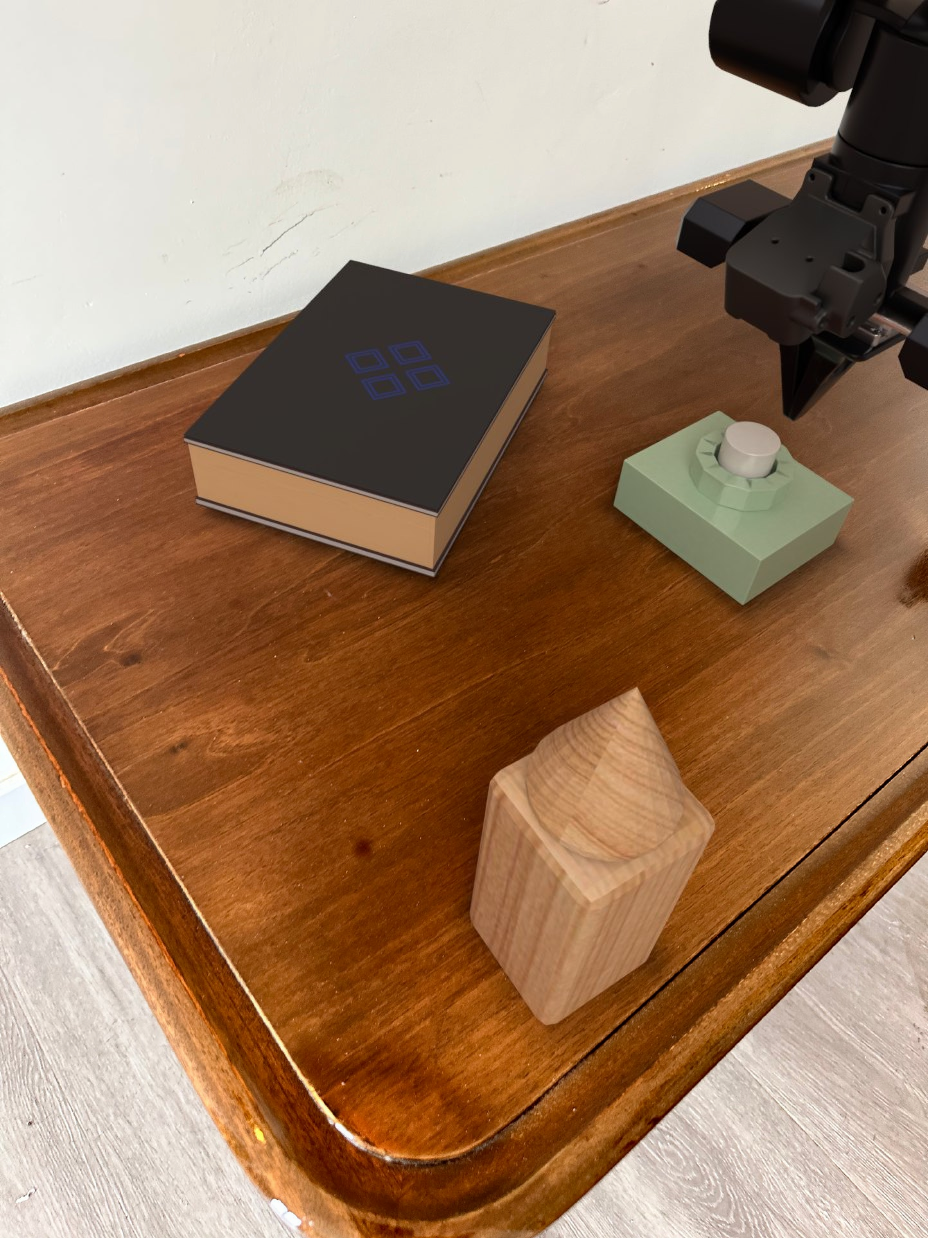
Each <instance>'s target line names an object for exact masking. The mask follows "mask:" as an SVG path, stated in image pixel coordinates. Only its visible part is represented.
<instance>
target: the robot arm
mask: <svg viewBox="0 0 928 1238" xmlns="http://www.w3.org/2000/svg"><path fill="white" fill-rule="evenodd" d="M707 33H708V35H707V36H708V38H707V39H708V51H709V55H710V58H711V61H712V62H713V64H714V65H715V66H716V67H717V68H718V69H720V70H721V71H723V72H726V73H728V74H731V75H732V76H734V77H736V78H737V77H738V78H739V79H742V80H745V81H747V82H748V83H751V84H753V85H756V86H759V87H761V88H763V89H766V90H768V91H770V92H773V93H775V94H777V95H780V96H782V97H785V98H787V99H789V100H792V101H794V102H796V103H799V104H800V105H803V106H805V107H808V108H818V107H821V106H824V105H825V104H827V103H829V102H830V101H831V100H833V99H834V98H835V97H836V96H837V95H838V94H840V93H846V92H849V91H850V90H851V91H850V94H849V97H848V99H847V103H846V106H845V108H844V111H843V114H842V117H841V120H840V122H839V127H838V129H837V131H836V135H835V137H834V140H833V144H832V146H831V149H830V151H829V152H826V153H824V154H821V155H818V156H816V157H814V158H813V160H812V163H811V166H810V168H809V169H808V170H807V171H806V172H805V175H804V178H803V181H802V184H801V187H800V188H799V190H798V191H797V193H796V194H795V195H794V197H793V199H792V198H789V197H788V196H786V195H783V194H781V193H779V192H777V191H775V190H773V189H772V188H769V187H767V186H765V185H763V184H761V183H759V182H757V181H755V180H753V179H750V178H748V179H746V180H743V181H741V182H738V183H737V182H736V183H734V184H732V185H729V186H725V187H724V188H720V189H718V190H715V191H712V192H709V193H707V194H704V195H702V196H699V197H697V198H696V199H694V200H693V201H691V202H690V203H689V205H688V207H687V208H686V209H685V211H684V212H683V213H682V215H681V218H680V222H679V227H678V231H677V235H676V238H675V239H676V240H675V249H676V250H677V251H678V252H680V253H681V254H683V255H685V256H687V257H689V258H691V260H692V259H693V260H695V261H696V262H697V263H699V264H701V265H702V266H704V267H706V268H708V269H713V268H716V267H718V266H720V265H723V264H725V271H724V298H723V300H724V301H723V307H724V311H725V312H726V313H727V315H729V316H730V317H732V318H733V319H735V320H742V321H743V322H745V323H747V324H749V325H751V326H752V327H754V328H756V329H757V330H759V331H761V332H763V333H764V334H766V336H767V337H768V339H769V340H771V341H772V342H774V343H777V344H778V349H779V357H780V379H781V380H780V381H781V402H782V403H781V404H782V415H783V417H785V418H787V419H788V420H790V421H791V422H796V421H797V420H800V419H801V418H803V417H804V416H805V415H806V414H807V413H808V412H810V410H812V408H813V407H814V406H815V405H816V404H817V403H818V402H819V401H820V400H821V399H822V398H823V397H824V396H825V395H826V394H827V393H828V392H829V391H830V390H831V389H832V388H833V387H834V386H835V385H836V384H837V383H838V382H839V381H840V380H841V379H842V377H844V375H846V373H848V371H850V370H851V369H852V368H853V367H854V366H855V365H856V364H857V363H863V362H867V361H868V360H870V359H872V358H874V357H877V356H878V355H879V354H881V353H883V352H885V351H886V350H888V349H891V348H892V347H895V346H896V345H898V344H900V343H901V342H903V341H904V342H903V344H902V346H901V348H900V350H899V353H898V355H897V359H898V362H899V365H900V368H901V370H902V374H903V377H904V378H905V379H906V380H908V381H909V382H912V383H913V384H915V385H916V386H918V387H920V388H922V389H924V390H926V391H928V291H927V290H925V289H923V288H921V287H919V286H918V285H915V284H913V283H911V282H909V279H910V276H912V275H915V274H918V272H920V271H923V270H924V269H925V266H926V264H927V261H928V248H926V247H924V245H925V243H926V240H927V238H928V0H715V2H714V4H713V7H712V11H711V15H710V19H709V26H708V32H707Z"/></svg>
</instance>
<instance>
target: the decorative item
mask: <svg viewBox="0 0 928 1238" xmlns="http://www.w3.org/2000/svg"><path fill="white" fill-rule="evenodd" d="M659 729H660V728H658V725H657V723H656V721H655V720H654V717H653V715H652V714H651V711H650V709H649V707H648V705H647V704H646V701H645V699H644V697H643V696H642V693H641V692H640V690H639V687H638V686H636V687H634V688H632V689H629V690H628V691H626V692H624V693H622V694H620V695H617V696H616V697H614V698H612V699H610V700H608V701H607V702H604V703H603V704H601V705H599V706H597V707H595V708H593V709H591V710H589V711H587V712H584V713H583V714H581V715H579V716H578V717H575V718H574V719H571V720H569V721H568V722H566V723H563V724H562V725H560V726H557V727H556V728H555V729H553V730H552V731H551V732H550V733H548V734H547V735H546V736H545V737H543V738H542V739H541V740H540V741H539V742H538V744H537V745H536V747H535V749H534V750H533V752H531V753H529V754H527V755H525V756H523V757H522V758H519V759H518V760H516V761H514V762H512V763H510V764H509V765H507V766H505V767H503V768H502V769H500V770H498V771H497V772H496V773H495V774H494V776H493V777H492V778H491V780H490V781H489V786H488V791H487V792H488V793H487V798H486V804H485V812H484V819H483V825H482V831H481V837H480V844H479V851H478V855H477V856H478V857H477V862H476V863H477V864H476V870H475V876H474V883H473V890H472V897H471V903H470V909H469V917H470V922H471V924H472V926H473V927H474V929H475V930H476V932H477V933H478V935H479V936H480V937H481V939H482V940H483V942H484V944H485V945H486V947H487V948H488V949H489V951H490V952H491V954H492V956H493V957H494V958H495V959H496V961H497V962H498V964H499V966H500V967H501V968H502V970H503V971H504V973H505V974H506V976H507V978H509V980H510V982H511V983H512V984H513V986H514V987H515V989H516V990H517V992H518V993H519V995H520V997H521V998H522V1000H523V1001H524V1002H525V1004H526V1005H527V1007H528V1008H529V1010H530V1011H531V1012H532V1014H533V1016H535V1018H536V1019H537V1020H538V1021H540V1022H541V1023H542V1024H543V1025H544V1026H549V1025H550V1026H551V1025H556V1024H559V1023H560V1022H561V1021H562V1020H564V1019H566V1017H567V1018H568V1017H569V1015H571V1014H572V1013H574V1012H576V1011H577V1010H578V1009H580V1008H581V1007H582V1006H584V1005H585V1004H587V1003H588V1002H590V1001H591V1000H593V999H594V998H595V997H597V996H598V995H599V994H601V993H603V992H604V991H605V990H607V989H608V988H610V987H611V986H612V985H615V984H616V983H617V982H618V981H620V980H622V979H623V978H624V977H626V976H627V975H629V974H630V973H632V972H633V971H634V970H636V969H637V968H639V967H640V966H641V965H643V964H645V963H646V962H647V960H648V959H649V956H650V954H651V953H652V951H653V949H654V948H655V945H656V943H657V941H658V939H659V937H660V935H661V933H662V932H663V929H664V928H665V926H666V924H667V922H668V919H669V918H670V916H671V915H672V912H673V910H674V909H675V907H676V905H677V903H678V901H679V899H680V897H681V895H682V893H683V891H684V890H685V888H686V885H687V883H688V882H689V881H690V880H689V879H690V878H691V876H692V874H693V872H694V870H695V868H696V867H697V864H698V863H699V860H700V858H701V857H702V855H703V853H704V851H705V849H706V847H707V845H708V843H709V842H710V839H711V838H712V836H713V834H714V832H715V830H716V822H715V821H714V819H713V817H712V815H711V813H710V811H708V809H707V808H706V807H705V806H704V805H703V804H702V803H701V802H700V801H699V799H698V798H697V797H696V796H695V795H694V794H693V793H692V792H691V790H690V789H689V788H687V786H686V785H685V784H684V783H683V779H682V777H681V773H680V770H679V767H678V765H677V763H676V761H675V759H674V757H673V755H672V753H671V751H670V749H669V748H668V745H667V743H666V741H665V740H664V738H663V735H662V733H661V731H660V730H659Z"/></svg>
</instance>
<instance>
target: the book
mask: <svg viewBox="0 0 928 1238" xmlns="http://www.w3.org/2000/svg"><path fill="white" fill-rule="evenodd" d="M556 314H557V310H556V309H552V308H548V307H545V306H540V305H536V304H533V303H528V302H524V301H519V300H517V299H512V298H509V297H508V298H507V297H504V296H500V295H497V294H492V293H488V292H484V291H480V290H476V289H472V288H467V287H463V286H459V285H455V284H451V283H447V282H443V281H439V280H435V279H431V278H427V277H423V276H418V275H414V274H411V273H407V272H402V271H398V270H394V269H391V268H386V267H382V266H378V265H374V264H371V263H366V262H362V261H358V260H354V259H349V260H348V261H347V262H346V263H345V265H343V267H341V268H340V269H339V270H338V272H337V273H336V274H335V275H334V276H333V277H332V278H331V279H330V280H329V281H328V283H326V284H325V286H323V288H322V289H321V290H319V292H318V293H317V294H316V295H315V296H314V297H313V298H312V299H311V300H310V301H309V302H308V303H307V304H306V305H305V307H303V309H302V310H301V311H300V312H299V313H297V315H296V316H294V318H293V319H292V320H291V321H290V322H289V323H288V324H287V325H286V326H285V327H284V328H283V329H282V331H281V332H279V333H278V334H277V336H276V337H274V339H272V341H271V342H269V344H268V345H267V346H266V347H265V348H264V349H263V350H262V351H261V353H260V354H258V356H256V358H255V359H254V360H253V361H252V362H251V363H250V364H249V365H248V366H247V367H246V368H245V369H244V371H242V372H241V373H240V374H239V375H238V377H236V379H234V380H233V382H232V383H230V384H229V386H228V387H227V388H226V389H225V390H224V391H223V392H222V393H221V394H220V395H219V397H217V398H216V399H215V401H214V402H213V403H212V404H211V405H210V406H209V407H208V408H207V409H206V410H205V411H204V412H203V413H202V414H201V415H200V417H198V419H196V421H195V422H193V423H192V425H191V426H190V427H189V428H188V429H187V430H186V431H185V432H184V433H183V434H182V435H183V437H182V438H183V440H184V441H183V444H184V443H185V444H187V449H188V454H189V458H190V464H191V469H192V474H193V478H194V484H195V491H196V496H195V497H194V499H195V504H196V505H198V506H201V507H204V508H207V509H211V510H214V511H218V512H220V513H223V514H227V515H231V516H234V517H237V518H240V519H244V520H246V521H250V522H253V523H256V524H259V525H263V526H265V527H269V528H272V529H275V530H279V531H282V532H285V533H289V534H292V535H294V536H298V537H301V538H305V539H307V540H311V541H313V542H317V543H320V544H322V545H323V544H324V545H327V546H331V547H333V548H336V549H340V550H343V551H346V552H349V553H353V554H356V555H359V556H363V557H366V558H368V559H372V560H376V561H379V562H381V563H385V564H388V565H391V566H394V567H398V568H400V569H403V570H404V569H405V570H408V571H410V572H414V573H417V574H420V575H423V576H427V577H430V578H433V579H435V578H436V575H437V574H438V573H439V571H440V569H441V567H442V565H443V563H444V562H445V560H446V558H447V556H448V555H449V552H450V551H451V549H452V547H453V545H454V543H455V542H456V540H457V538H458V537H459V534H460V533H461V531H462V529H463V527H464V525H465V523H466V522H467V520H468V518H469V516H470V515H471V513H472V511H473V509H474V507H475V506H476V504H477V502H478V500H479V499H480V497H481V495H482V493H483V492H484V490H485V488H486V486H487V484H488V482H489V480H490V479H491V478H492V475H493V473H494V472H495V470H496V468H497V466H498V464H499V463H500V461H501V459H502V458H503V455H504V454H505V452H506V450H507V448H508V447H509V445H510V443H511V441H512V439H513V437H514V436H515V434H516V432H517V430H518V428H519V427H520V425H521V423H522V421H523V420H524V417H525V416H526V414H527V412H528V410H529V409H530V407H531V405H532V404H533V401H534V399H535V398H536V396H537V395H538V392H539V390H540V389H541V387H542V386H543V383H544V382H545V380H546V379H547V376H548V370H549V369H548V368H546V366H547V360H548V353H549V347H550V340H551V332H552V325H553V323H554V321H555V320H556V318H557V317H556Z"/></svg>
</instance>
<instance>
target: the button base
mask: <svg viewBox="0 0 928 1238" xmlns="http://www.w3.org/2000/svg"><path fill="white" fill-rule="evenodd" d="M737 422H738V421H736V420H735V419H733V418H732V417H730V416H728V415H727V414H725V413H724V412H722V411H720V410H717V411H715V412H713V413H711V414H709V415H707V416H705V417H703V418H701V419H700V420H698V421H695V422H694V423H692V424H690V425H688V426H686V427H684V428H682V429H680V430H678V431H677V432H674V433H673V434H671V435H669V436H667V437H665V438H663V439H661V440H659V441H658V442H655V443H654V444H652V445H649V446H648V447H646V448H644V449H642V450H640V451H638V452H636V453H634V454H633V455H631V456H629V457H627V458H625V459H624V460H623V463H622V466H621V472H620V475H619V480H618V483H617V488H616V492H615V497H614V501H613V507H614V508H616V509H617V510H618V511H619V512H621V513H622V514H623V515H625V516H626V517H627V518H629V519H630V520H631V521H632V522H634V523H635V524H636V525H637V526H639V527H640V528H641V529H642V530H644V531H645V532H646V533H648V534H649V535H650V536H652V537H653V538H655V539H656V541H658V542H659V543H661V544H662V545H664V546H665V547H666V548H668V549H669V551H671V552H672V553H673V554H675V555H676V556H678V557H679V558H680V559H682V561H684V562H686V563H687V564H688V565H689V566H691V567H692V568H693V569H695V570H696V571H697V572H698V573H699V574H701V575H702V576H703V577H705V578H706V579H707V580H708V581H710V582H711V583H713V584H714V585H715V586H716V587H718V588H719V589H721V590H722V591H723V592H724V593H725V594H727V595H728V596H729V597H731V598H732V599H733V600H734V601H736V602H737V603H739V605H741V606H744V605H745V604H747V603H748V602H750V601H751V600H753V599H754V598H756V597H757V596H759V595H760V594H761V593H763V592H764V591H766V590H767V589H769V588H770V587H772V586H773V585H775V584H776V583H778V582H779V581H781V580H782V579H784V578H785V577H786V576H788V575H790V574H791V573H792V572H794V571H796V570H797V569H798V568H800V567H801V566H803V565H804V564H806V563H808V562H809V561H810V560H812V559H814V558H815V557H816V556H818V555H819V554H820V553H822V552H824V551H825V550H827V549H828V548H829V547H831V546H832V545H834V543H835V541H836V540H837V537H838V535H839V533H840V530H841V529H842V527H843V525H844V522H845V520H846V519H847V516H848V514H849V512H850V510H851V508H852V507H853V504H854V502H855V498H854V497H852V496H851V495H849V494H847V493H846V492H845V491H843V490H842V489H840V488H838V487H837V486H836V485H834V484H833V483H831V482H829V481H828V480H827V479H825V478H823V477H822V476H820V475H819V474H817V473H816V472H814V471H813V470H811V469H809V468H808V467H806V465H803V464H802V463H800V462H799V461H797V460H796V459H794V457H793V456H792V454H791V453H790V451H789V449H788V448H787V447H786V446H785V445H784V444H782V443H781V446H780V449H779V452H778V454H777V457H776V459H775V462H774V464H773V467H772V470H771V472H770V473H769V474H768V475H767V476H766V477H764V478H756V479H747V478H743V477H740V476H736V475H733V474H731V473H730V472H728V471H727V470H725V469H724V468H722V467H721V466H720V464H719V462H718V453H719V450H720V447H721V444H722V441H723V438H724V435H725V432H726V429H727V428H728V427H729V426H730V425H732V424H734V423H737Z"/></svg>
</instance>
